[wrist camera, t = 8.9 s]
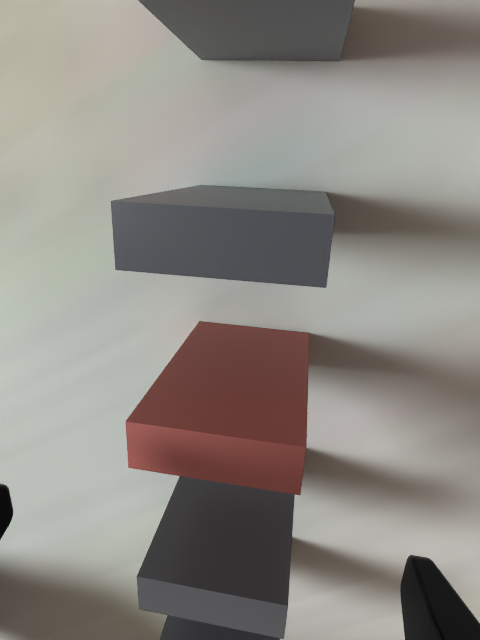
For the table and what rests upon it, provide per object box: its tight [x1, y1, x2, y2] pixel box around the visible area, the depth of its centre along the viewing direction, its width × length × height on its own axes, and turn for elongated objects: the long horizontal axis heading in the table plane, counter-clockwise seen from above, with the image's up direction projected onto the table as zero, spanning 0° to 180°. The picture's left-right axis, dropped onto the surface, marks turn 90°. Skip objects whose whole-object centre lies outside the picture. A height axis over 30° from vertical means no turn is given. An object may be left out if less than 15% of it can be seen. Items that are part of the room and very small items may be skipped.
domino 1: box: [160, 615, 280, 640], centre depth 19 cm, size 2×5×8 cm, turn 88°
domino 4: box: [111, 185, 335, 288], centre depth 13 cm, size 2×5×8 cm, turn 88°
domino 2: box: [137, 476, 294, 639], centre depth 17 cm, size 2×5×8 cm, turn 87°
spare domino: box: [126, 321, 309, 495], centre depth 15 cm, size 2×5×8 cm, turn 87°
